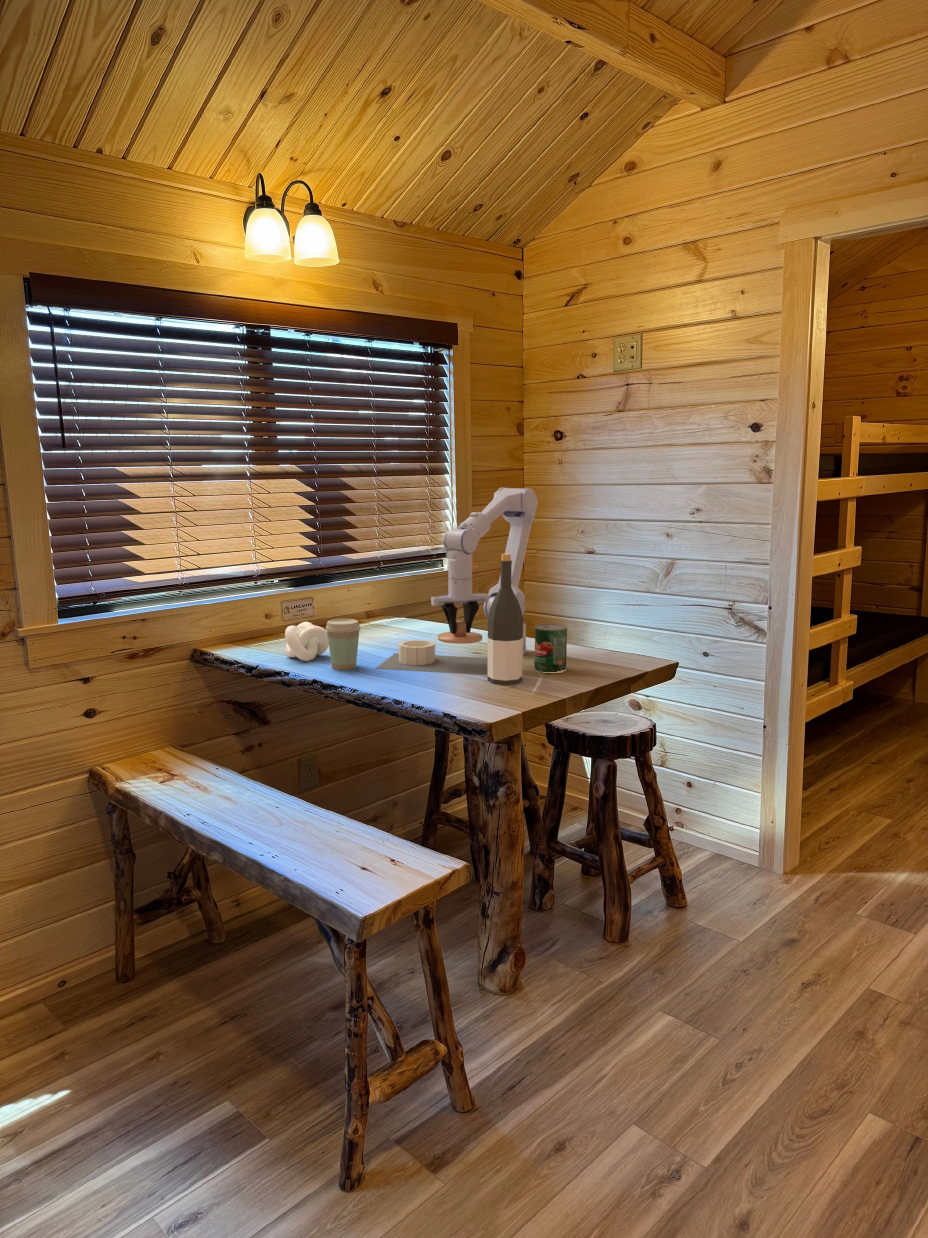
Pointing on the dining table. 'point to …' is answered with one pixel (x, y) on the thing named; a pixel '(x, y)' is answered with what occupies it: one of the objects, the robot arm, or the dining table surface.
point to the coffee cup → (343, 642)
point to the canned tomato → (550, 647)
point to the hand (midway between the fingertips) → (460, 632)
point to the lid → (460, 635)
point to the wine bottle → (505, 632)
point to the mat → (441, 665)
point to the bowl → (416, 652)
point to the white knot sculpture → (306, 641)
